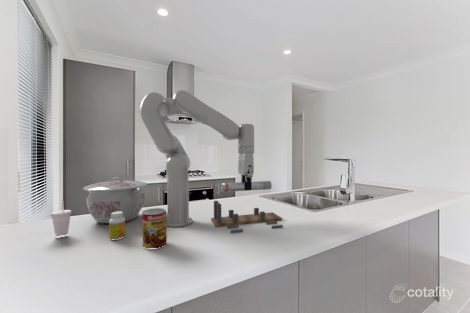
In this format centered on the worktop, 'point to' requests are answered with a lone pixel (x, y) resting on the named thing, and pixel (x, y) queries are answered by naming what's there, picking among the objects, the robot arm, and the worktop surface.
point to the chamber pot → (115, 199)
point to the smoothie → (61, 221)
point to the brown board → (241, 217)
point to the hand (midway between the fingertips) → (246, 188)
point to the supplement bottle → (116, 225)
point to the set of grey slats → (242, 229)
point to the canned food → (154, 228)
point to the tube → (241, 186)
